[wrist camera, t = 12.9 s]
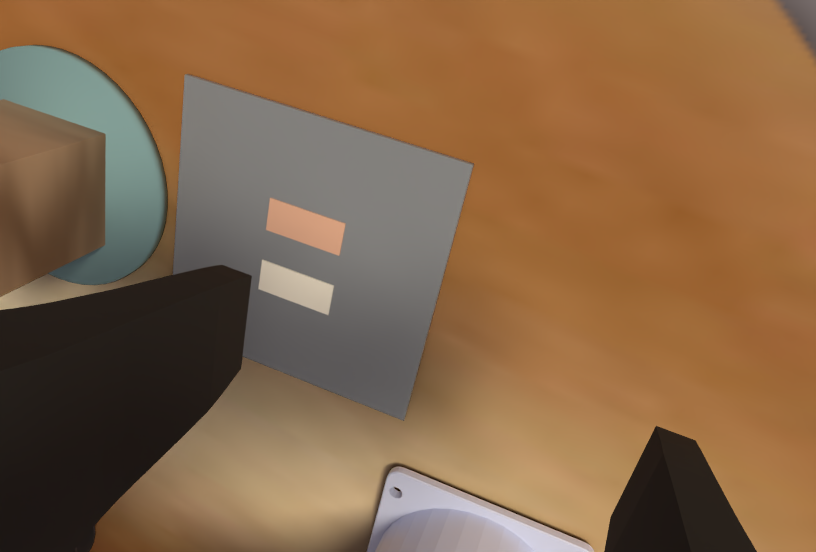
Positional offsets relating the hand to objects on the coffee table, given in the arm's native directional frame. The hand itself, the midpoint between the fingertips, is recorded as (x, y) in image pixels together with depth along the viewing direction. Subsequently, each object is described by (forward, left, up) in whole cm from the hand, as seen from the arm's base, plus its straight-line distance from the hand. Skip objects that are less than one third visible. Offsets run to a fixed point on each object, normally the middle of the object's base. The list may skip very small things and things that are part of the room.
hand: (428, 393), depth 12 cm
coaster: (-4, +17, -10) cm, 20 cm away
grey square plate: (-4, +7, -10) cm, 13 cm away
